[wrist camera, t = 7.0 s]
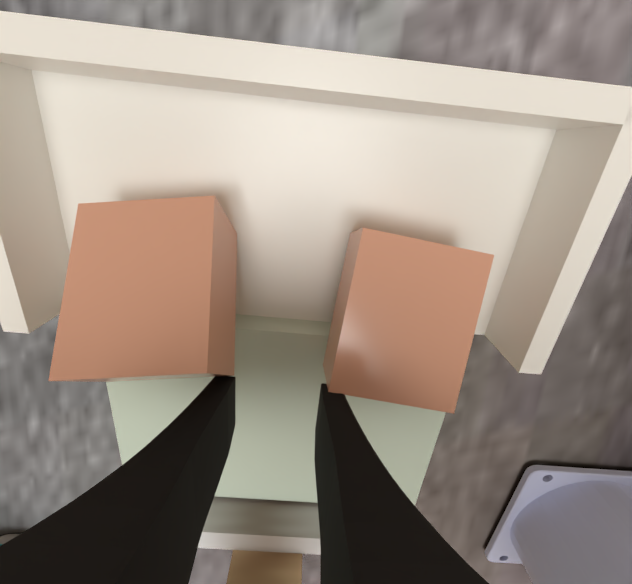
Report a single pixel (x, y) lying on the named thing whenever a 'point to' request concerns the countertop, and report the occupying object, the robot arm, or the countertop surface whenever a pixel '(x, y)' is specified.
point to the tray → (306, 165)
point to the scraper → (263, 538)
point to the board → (278, 415)
